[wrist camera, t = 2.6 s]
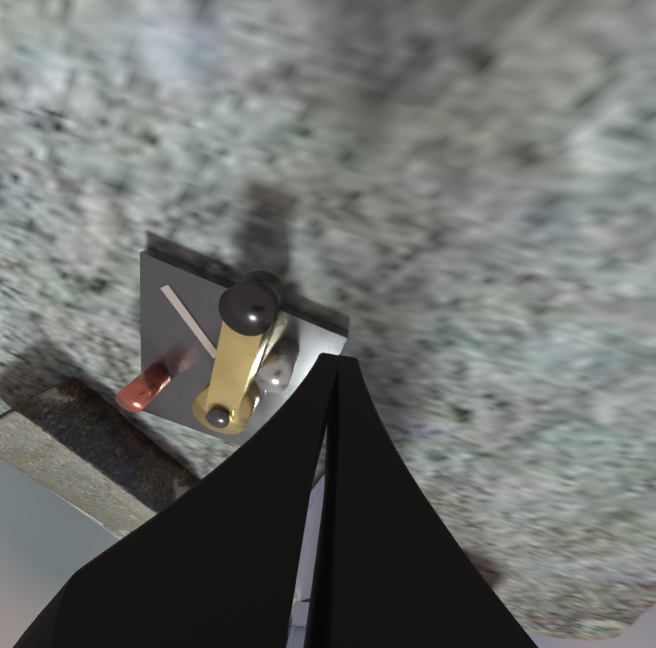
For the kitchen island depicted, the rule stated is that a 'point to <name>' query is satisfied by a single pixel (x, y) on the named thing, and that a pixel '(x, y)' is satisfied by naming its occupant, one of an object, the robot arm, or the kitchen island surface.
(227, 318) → the crank lever
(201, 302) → the crank base
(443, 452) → the kitchen island surface
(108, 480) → the stone block
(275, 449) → the robot arm
